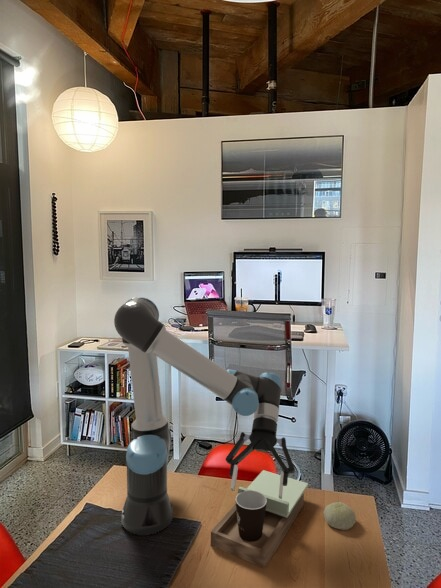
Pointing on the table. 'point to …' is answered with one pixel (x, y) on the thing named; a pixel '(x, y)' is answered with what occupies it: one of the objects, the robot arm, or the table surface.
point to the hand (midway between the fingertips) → (256, 493)
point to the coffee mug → (250, 514)
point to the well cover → (277, 492)
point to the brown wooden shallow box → (257, 551)
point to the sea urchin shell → (339, 515)
